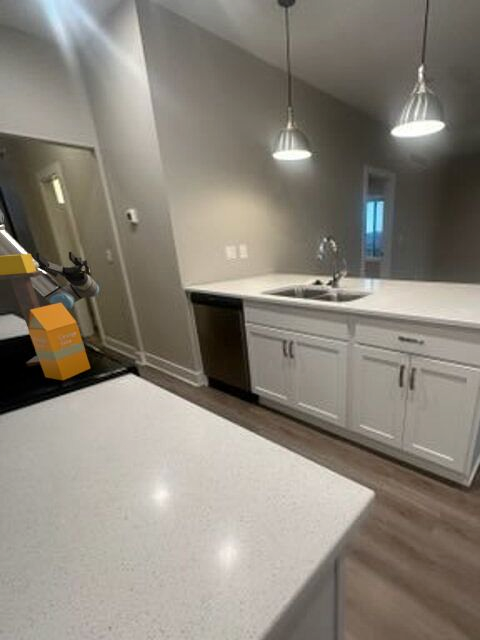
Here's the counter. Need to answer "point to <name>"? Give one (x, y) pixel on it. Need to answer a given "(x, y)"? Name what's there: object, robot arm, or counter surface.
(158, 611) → the counter surface
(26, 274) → the tall stand
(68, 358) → the orange juice
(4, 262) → the yellow rectangular block
